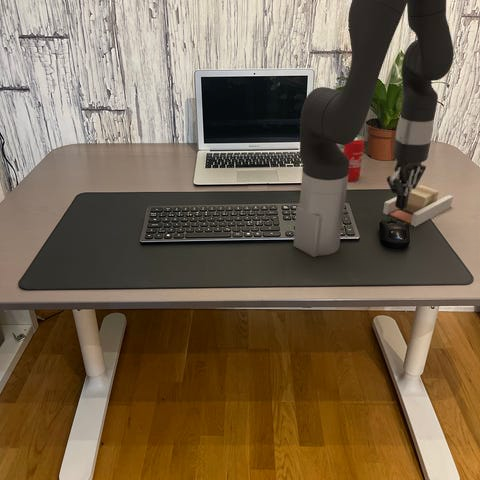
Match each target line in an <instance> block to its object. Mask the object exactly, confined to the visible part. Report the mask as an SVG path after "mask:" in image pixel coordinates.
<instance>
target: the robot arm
mask: <svg viewBox="0 0 480 480" xmlns="http://www.w3.org/2000/svg"><path fill="white" fill-rule="evenodd" d="M406 8H407V9H406ZM405 9H406V11H407V13H406V14H407V23H408V27H409V29H411V30H410V31H412V32H413V33H414V34H415V35H416V38H417V39H416V40H414V41H413V42H411V43H410V44H409V46H408V47H407V49H405V51H404V54H403V55H404V56H403V57H402V65H401V78H402V79H401V80H402V92H403V98H402V104H401V109H400V116H399V119H398V123H397V127H396V132H395V139H394V144H393V151H392V156H393V157H394V158H395V160H396V164H395V166H394V172H393V174H392V176H391V175H388V176H387V177H386V182H387V184H388V186H389V189H390V191H391V193H393V194H396V197H397V198H396V204H395V206H396V207H397V208H399V209H398V210H405V209H404V208H406V207H407V203H408V197H409V194H410V193H411V191H412V189H415V188H416V187H418V184H419V182H420V180H421V178H422V176H423V175H424V172H425V171H426V168H427V167H426V165H424V164H422V163H424V162H425V161H427V159H428V158H429V153H430V147H431V143H432V138H433V134H434V125H435V124H434V123H435V117H436V116H435V115H436V113H437V106H438V103H439V102H438V100H439V96H438V93H437V91H436V90H435V89H434V87H433V85H432V82H433V81H438V80H441V79H443V78H444V77H446V76H447V74H449V72H450V69H451V68H452V66H453V62H454V58H455V57H454V55H455V54H454V53H455V52H454V45H453V39H452V35H451V31H450V30H451V29H450V25H449V22H448V20H447V0H351V2H350V6H349V11H348V16H347V19H348V20H347V21H348V23H347V24H348V25H347V26H348V33H349V40H350V41H349V42H350V48H351V50H350V51H351V60H350V61H351V62H350V68H349V72H348V74H347V78H346V81H345V83H344V87H343V89H342V90H339V89H334V88H331V87H326V86H319V87H316V88H314V89H313V90H311V91H310V93H308V95H307V96H306V97H305V100H304V102H303V105H302V109H301V114H300V125H299V126H300V127H299V128H300V129H299V130H300V131H299V140H300V141H299V156H300V160H301V162H302V172H301V185H300V197H299V206H297V207H296V210H295V220H294V221H295V222H294V235H293V247H295V248H297V249H298V250H299V251H303V252H304V253H306V254H308V255H309V256H311V257H313V258H316V257H318V256H329V255H332V254H334V253H337V251H338V250H339V249H340V243H341V235H342V227H343V219H344V211H345V203H346V197H347V188H348V183H349V181H348V174H349V166H350V162H349V159H348V157H347V156H346V155H345V154H344V151H342V150H341V148H339V146H338V145H340V146H344V145H346V144H349V143H351V142H352V141H353V140H354V139H355V138H356V137H357V136H358V135H360V133H361V131H362V129H363V127H364V125H365V122H366V119H367V117H368V113H369V110H370V107H371V105H372V101H373V96H374V94H375V90H376V87H377V83H378V80H379V77H380V74H381V70H382V68H383V65H384V62H385V59H386V57H387V54H388V52H389V48H390V46H391V43H392V41H393V38H394V35H395V33H396V30H397V28H398V26H399V23H400V22H401V20H402V17H403V14H404V12H405Z"/></svg>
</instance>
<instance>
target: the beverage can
mask: <svg viewBox="0 0 480 480" xmlns="http://www.w3.org/2000/svg"><path fill="white" fill-rule="evenodd" d="M343 146H344V147H343V153H344V154H345V155H346V156H347V157H348V159H349V162H350V166H349V174H348V182H356V181H358V179H359V178H360V175H361V168H362V161H363V155H364V154H363V153H364V146H365V138H364V136H362V135H360V134H358V136H357V137H356V138H355V139H354V140H353V141H352V142H351V143H349V144H346V145H343Z"/></svg>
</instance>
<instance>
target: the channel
mask: <svg viewBox="0 0 480 480" xmlns="http://www.w3.org/2000/svg"><path fill="white" fill-rule="evenodd" d="M396 198H397V196H395V197H393V198H391V199H388V200H386V201H384V206H383V211H382V214H384V215H386V216H387V215H389V216H390V217H393V218H396V219H398V220H401V221H403V222H405V223H407V224H410V226H412V227H417V226H419V225H420V224H423V223H425V222H426V221H429V220H430V219H432V218H433V217H435V216H437V215H439V214H441V213H443V212H445V211H446V210H448V209H450V208H451V206H452V202H453V199H454V196H453V195H450V194H448V195H445V196H444V197H442V198H440V199H437V201H436V202H434V203H432V204H430V205H428V206H426V207H425V208H423V209H421V210H419V211H417V212H415V213H412V214H410V213H408V212H406V211H402V210H401V209H399V208H397V207H396V206H395V204H396Z"/></svg>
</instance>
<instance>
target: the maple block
mask: <svg viewBox="0 0 480 480" xmlns="http://www.w3.org/2000/svg"><path fill="white" fill-rule="evenodd" d="M439 192H440V191H439V190H437V189H434V188H431V187H429V186H424V185H421V184H420V185H417V186H416V188H415V189H412V191H411V193H410V194H409V197H408V203H407V207H406V208H404V209H403V210H405V211H407V212H409V213H412V214H413V213H415V212H417V211H419V210H421V209H423V208H425V207H426V206H428V205H430V204H432V203H434V202H436V201H438V198H439Z"/></svg>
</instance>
